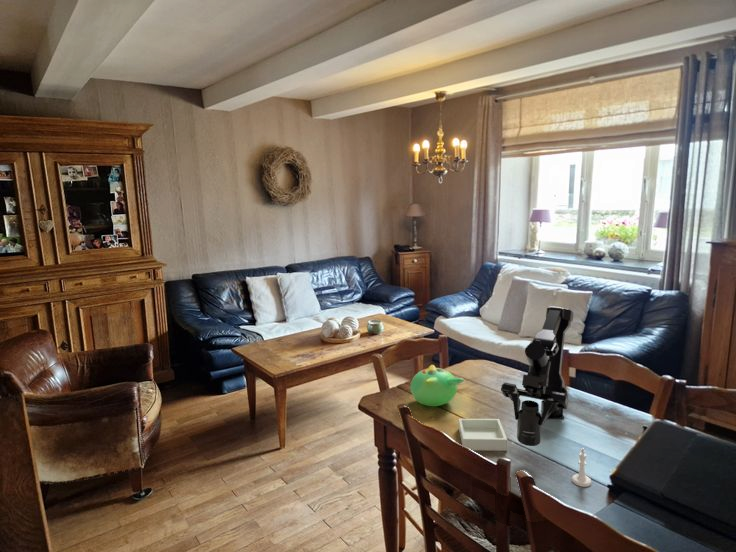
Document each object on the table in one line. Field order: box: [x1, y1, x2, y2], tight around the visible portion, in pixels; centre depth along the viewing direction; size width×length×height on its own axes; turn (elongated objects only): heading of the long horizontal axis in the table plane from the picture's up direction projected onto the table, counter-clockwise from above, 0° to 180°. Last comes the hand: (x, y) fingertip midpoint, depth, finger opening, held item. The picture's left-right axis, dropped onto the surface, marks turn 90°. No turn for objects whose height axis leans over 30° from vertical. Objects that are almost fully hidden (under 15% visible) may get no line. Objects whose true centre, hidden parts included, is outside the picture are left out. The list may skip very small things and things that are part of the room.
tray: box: [458, 418, 508, 452], centre depth 153 cm, size 14×14×4 cm
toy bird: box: [410, 364, 465, 407], centre depth 179 cm, size 18×17×15 cm
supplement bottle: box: [516, 399, 542, 447], centre depth 138 cm, size 7×7×12 cm
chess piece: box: [571, 447, 592, 488], centre depth 129 cm, size 5×5×10 cm
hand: (528, 422), depth 137 cm, fingers closed on supplement bottle, 7 cm apart
